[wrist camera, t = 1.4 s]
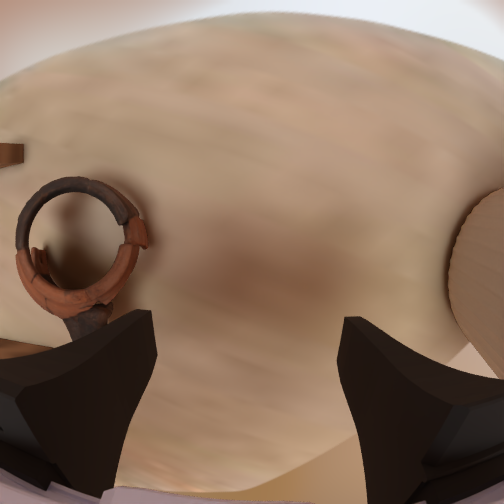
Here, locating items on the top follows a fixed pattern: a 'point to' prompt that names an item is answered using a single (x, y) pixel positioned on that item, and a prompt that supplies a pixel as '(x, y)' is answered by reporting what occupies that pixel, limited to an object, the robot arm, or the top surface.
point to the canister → (481, 280)
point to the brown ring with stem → (82, 301)
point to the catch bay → (3, 348)
